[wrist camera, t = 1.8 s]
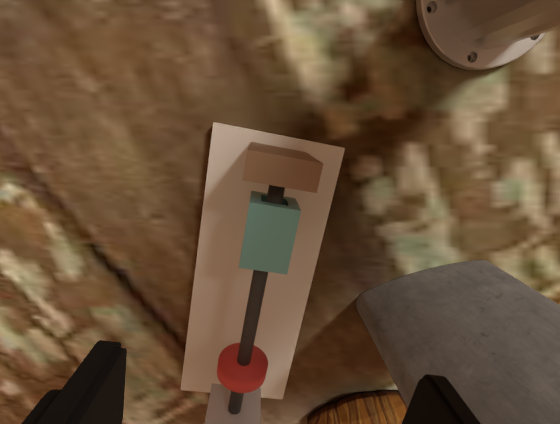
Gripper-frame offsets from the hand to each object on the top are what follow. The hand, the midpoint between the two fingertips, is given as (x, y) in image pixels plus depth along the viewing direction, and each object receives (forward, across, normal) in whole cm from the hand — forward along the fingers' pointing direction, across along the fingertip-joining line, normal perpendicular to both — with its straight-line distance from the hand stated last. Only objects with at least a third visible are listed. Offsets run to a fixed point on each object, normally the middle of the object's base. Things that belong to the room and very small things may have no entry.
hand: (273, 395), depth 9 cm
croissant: (+22, -16, +24) cm, 36 cm away
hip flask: (+21, -19, +6) cm, 29 cm away
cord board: (+21, 0, +8) cm, 22 cm away
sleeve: (+16, 0, 0) cm, 16 cm away
